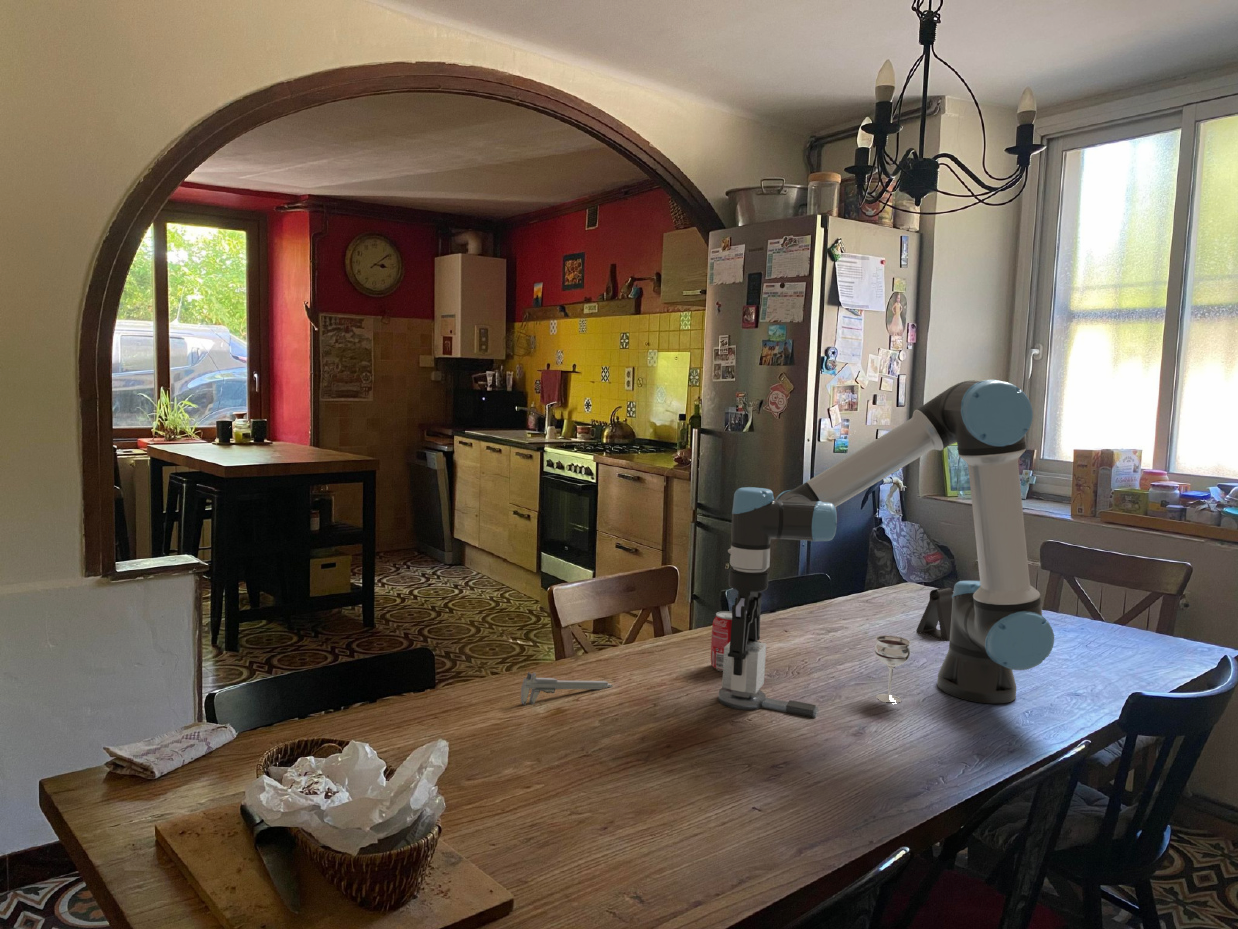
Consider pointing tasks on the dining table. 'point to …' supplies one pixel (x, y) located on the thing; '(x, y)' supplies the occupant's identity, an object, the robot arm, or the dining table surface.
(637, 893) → the dining table surface
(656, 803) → the dining table surface
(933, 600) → the dark grey wedge-shaped frame
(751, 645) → the white grooved block
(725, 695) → the ratchet
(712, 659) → the soda can
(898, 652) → the wineglass
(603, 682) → the caliper
